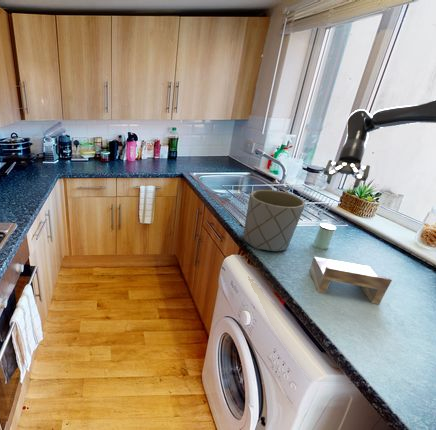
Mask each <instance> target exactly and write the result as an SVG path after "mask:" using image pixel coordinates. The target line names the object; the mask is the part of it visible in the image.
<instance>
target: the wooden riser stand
mask: <svg viewBox="0 0 436 430" xmlns="http://www.w3.org/2000/svg"><path fill="white" fill-rule="evenodd" d="M312 258H313V259H312V261H311V264H310V267H309V269H308V272H309V274H310V277H311V279H312V281H313V284H314V286H315V287H316V290H317V292H319V293H323V294H326V292H327V290H328V287H329V285H330V284H331V281H333V282H337V283H343V284H347V285H353V286H358V287H360V288H361V290H362V291H363V293H364V294H365V295H366V297H367V298H368V300H369V301H370V303H371V304H376V305H380V304H381V302H382V300H383V298H384V296H385V295H386V293H387V290H388V289H389V286H390V285H391V283H392V281H393V279H391V278H390V277H386V276H380V275H377V273H376V272H375V271H374V269H373V268H372V267H371V265H364V264H359V263H354V262H347V261H342V260H335V259H330V258H324V257H319V256H313V257H312Z"/></svg>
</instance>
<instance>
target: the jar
mask: <svg viewBox="0 0 436 430" xmlns="http://www.w3.org/2000/svg"><path fill="white" fill-rule="evenodd" d="M336 230H337V227H336V226H335V225H334V224H330V223H324V222H322V223H319V227H318V230H317V231H316V235H315V239H314V241H313V243H312V245H313V246H314V247H315V248H318V249H321V250H328V249H329V247H330V244H331V242H332V239H333V237H334V234H335V232H336Z"/></svg>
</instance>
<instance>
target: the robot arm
mask: <svg viewBox="0 0 436 430" xmlns="http://www.w3.org/2000/svg"><path fill="white" fill-rule="evenodd" d="M423 123H424V124H425V123H427V124H430V123H431V124H436V99H434V100H431V101H428V102H424V103H420V104H415V105H403V106H395V107H390V108H389V107H388V108H384V109H379V110H377V111H375V112H374V113H373V115H372V114H371V113H369V112H368V111H367V110H365V109H357V110H355V111H354V112H352V113H351V114H350V115H349V117H348V119H347V122H346V133H347V134H346V138H345V141H344V144H343V146H342V147H341V150H340V153H339V156H338V159H337V161H333V160H332V159H329V160H328V162H327V164H326V166H325V168H324V171H323V175H326V176H327V178H326V181H325V182H326V184H327V185H330V184H331V181H332V178H333V176H335V175H338V174H339V173H340V174H342V175H348V176H350V175H351V176H352V178H354V180H355V181H354V183H353V186H352V189H354V190H355V189H357V188H359V185H360V184H361V182H366V181H367V179H368V178H369V175H370V169H371V166H370V165H361V163H362V160H363V157H364V154H365V151H366V144H367V141H368V139H369V133H371V132H374V131H377V130H379V129H382V128H390V127H397V126H404V125H411V124H423ZM332 167H335V168H333V169H332V170H330V168H332ZM359 170H361V172H362V173H363V174H362V175H361V173H360V171H359Z"/></svg>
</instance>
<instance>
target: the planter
mask: <svg viewBox="0 0 436 430" xmlns="http://www.w3.org/2000/svg"><path fill="white" fill-rule="evenodd" d="M305 206H306V201H305V200H304V199H303V198H301V197H299V196H297V195H295V194H293V193H289V192H285V191H280V190H273V189H257V190H252V191H251V192H250V193H249V198H248V203H247V210H246V216H245V222H244V228H243V235H242V237H243V240H244V241H245V242H246V243H247V244H248V245H249V246H251V248H254V249H255V250H256V251H257V250H264V251H272V252H280V251H287V249H288V248H289V246H290V243H291V240H292V239H293V236H294V233H295V231H296V228H297V226H298V224H299V221H300V219H301V216H302V214H303V211H304V210H305V209H304V208H305Z"/></svg>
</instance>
